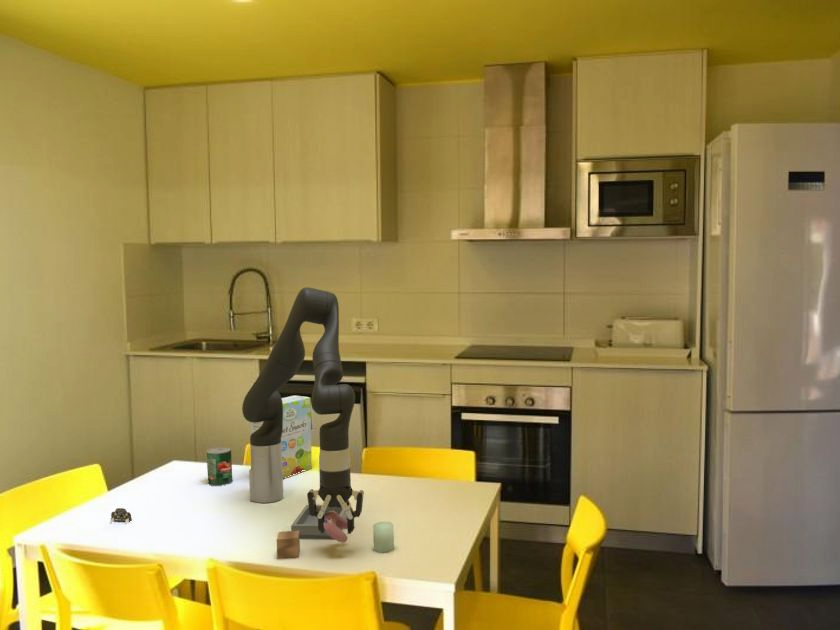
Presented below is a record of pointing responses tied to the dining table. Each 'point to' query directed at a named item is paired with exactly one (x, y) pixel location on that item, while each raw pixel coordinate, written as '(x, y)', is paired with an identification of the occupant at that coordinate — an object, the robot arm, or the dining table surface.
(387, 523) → the sage cylinder
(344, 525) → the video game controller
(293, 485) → the dining table surface
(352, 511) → the robot arm
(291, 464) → the snack box
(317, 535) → the charcoal tray
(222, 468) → the canned tomato
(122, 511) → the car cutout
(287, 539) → the walnut cube
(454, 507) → the dining table surface
